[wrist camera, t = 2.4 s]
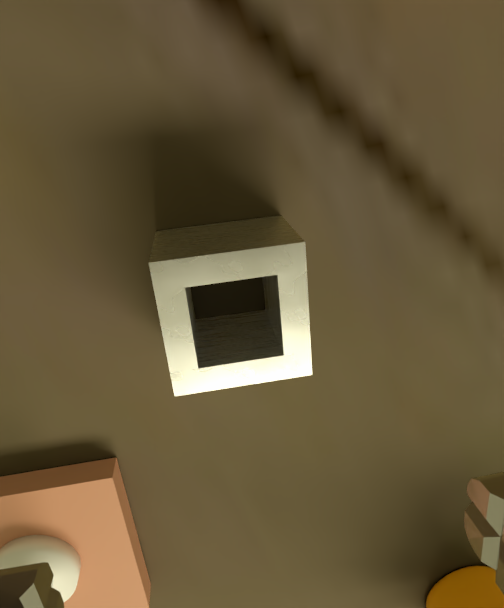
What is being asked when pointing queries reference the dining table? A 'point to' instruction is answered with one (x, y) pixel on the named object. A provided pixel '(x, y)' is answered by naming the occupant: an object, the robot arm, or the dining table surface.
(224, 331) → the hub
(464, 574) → the orange vase with loops
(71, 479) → the shaft block
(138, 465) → the dining table surface
